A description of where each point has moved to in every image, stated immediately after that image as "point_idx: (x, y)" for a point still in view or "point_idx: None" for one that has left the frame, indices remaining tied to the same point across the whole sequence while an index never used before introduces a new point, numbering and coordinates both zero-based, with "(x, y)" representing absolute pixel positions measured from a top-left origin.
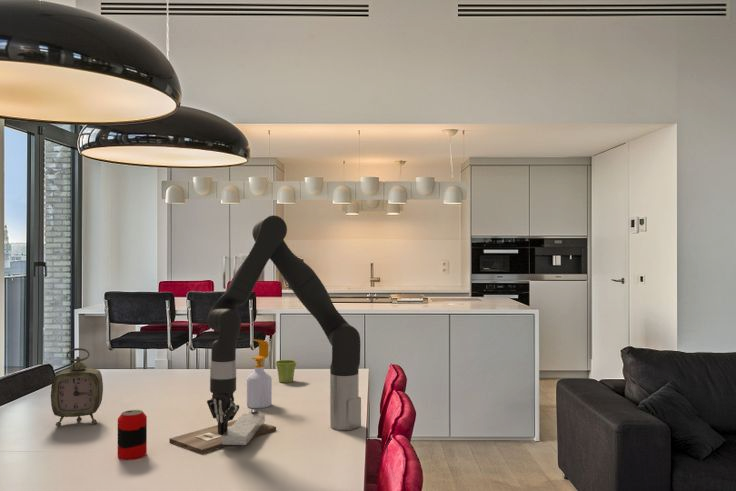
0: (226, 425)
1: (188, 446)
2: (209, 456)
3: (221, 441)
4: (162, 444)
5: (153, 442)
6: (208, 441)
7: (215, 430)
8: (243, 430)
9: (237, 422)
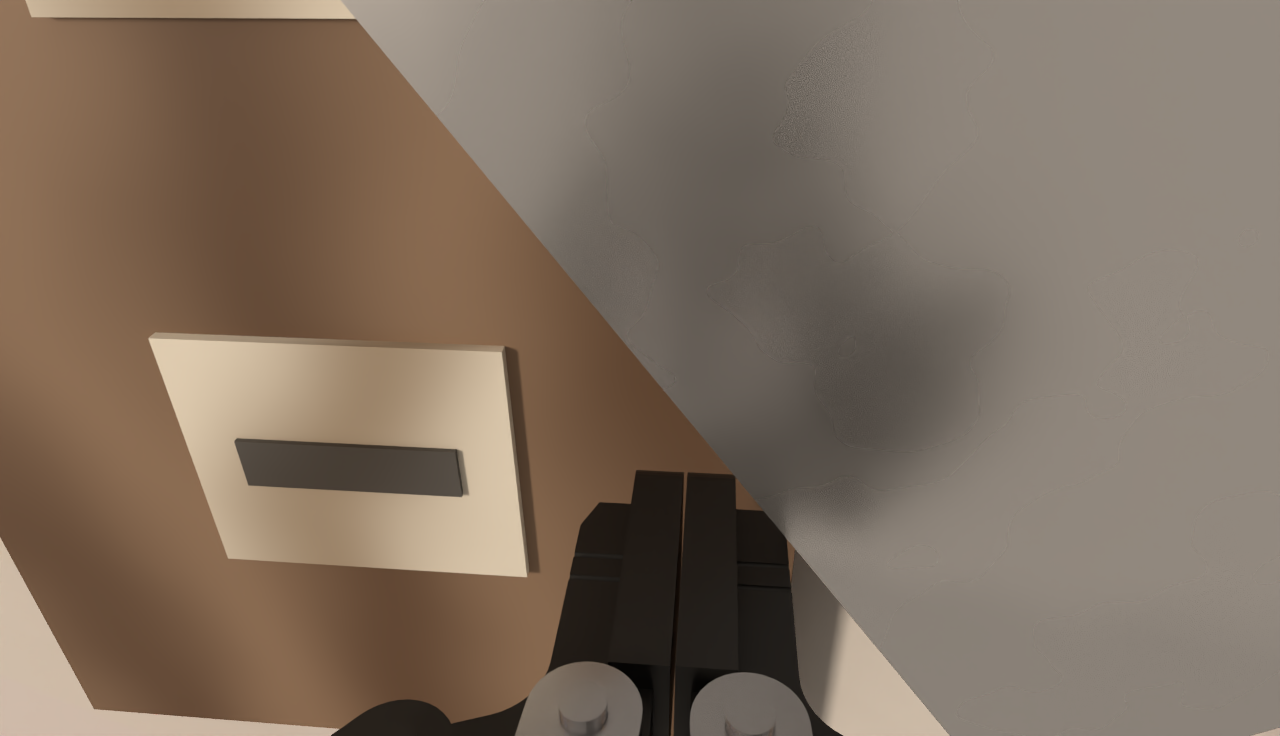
0: (790, 658)
1: None
2: (916, 719)
3: None
4: (151, 722)
5: (29, 727)
6: (553, 567)
7: (44, 158)
8: (1211, 437)
9: (484, 52)
